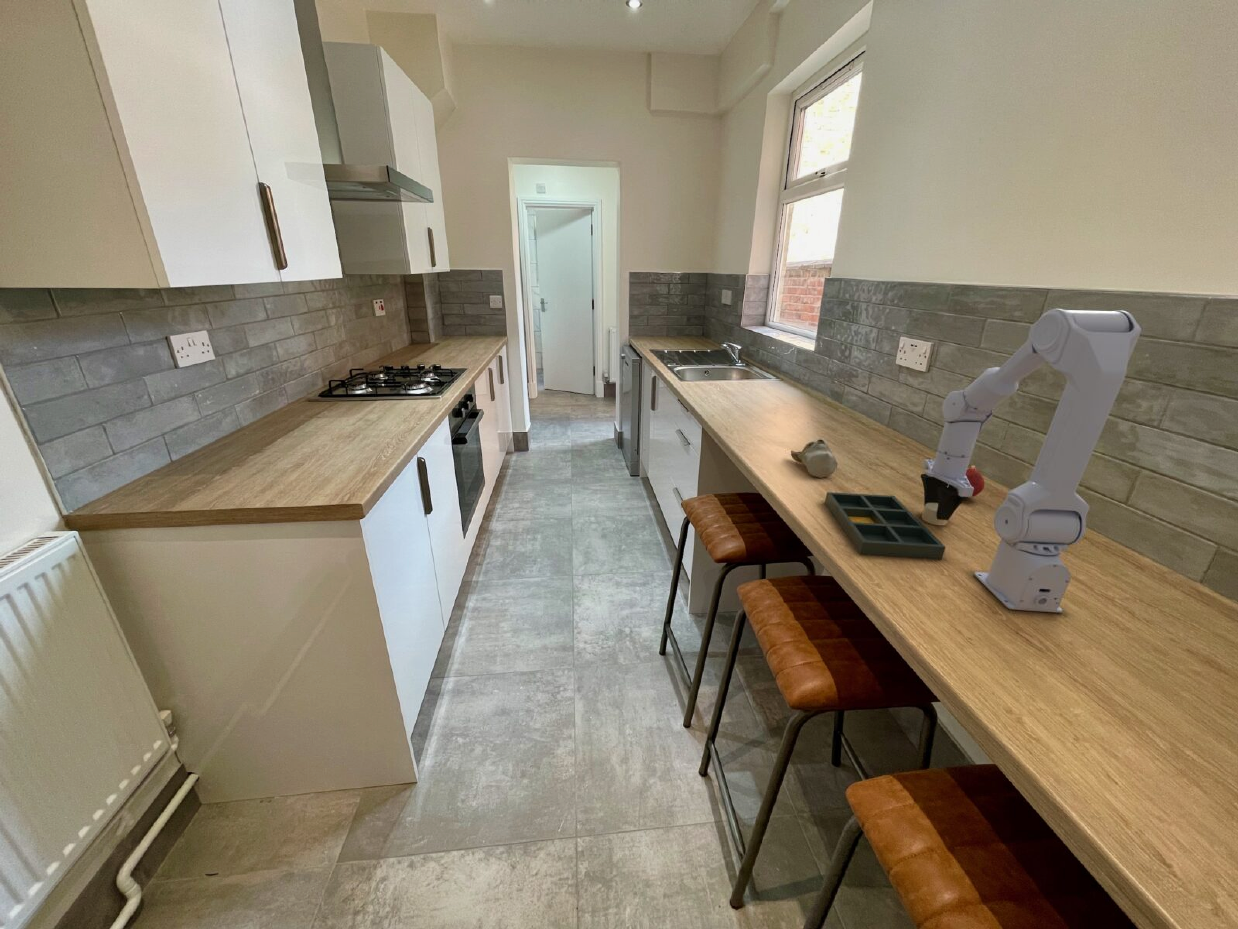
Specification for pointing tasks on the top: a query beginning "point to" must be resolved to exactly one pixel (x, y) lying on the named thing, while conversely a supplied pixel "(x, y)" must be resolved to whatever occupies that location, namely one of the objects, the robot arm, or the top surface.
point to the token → (932, 514)
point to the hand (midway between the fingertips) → (936, 513)
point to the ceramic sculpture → (817, 459)
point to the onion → (975, 480)
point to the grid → (883, 526)
